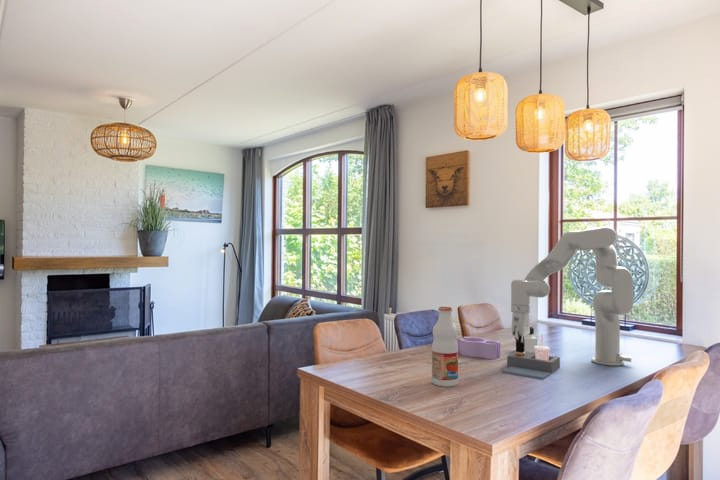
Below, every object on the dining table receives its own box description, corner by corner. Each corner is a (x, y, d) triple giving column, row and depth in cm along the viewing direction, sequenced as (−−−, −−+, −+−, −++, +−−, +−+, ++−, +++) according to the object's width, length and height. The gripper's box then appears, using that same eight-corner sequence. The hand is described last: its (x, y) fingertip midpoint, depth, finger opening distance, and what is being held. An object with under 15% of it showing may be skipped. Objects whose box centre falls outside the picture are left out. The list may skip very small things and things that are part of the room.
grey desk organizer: (559, 367, 197) (559, 357, 197) (551, 373, 187) (551, 362, 187) (517, 361, 208) (517, 351, 208) (507, 366, 198) (507, 355, 198)
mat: (550, 374, 186) (550, 372, 186) (543, 379, 179) (543, 377, 179) (510, 368, 196) (510, 366, 196) (502, 372, 189) (502, 370, 189)
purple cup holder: (504, 356, 217) (504, 341, 218) (491, 361, 208) (491, 345, 209) (466, 349, 231) (467, 335, 231) (453, 353, 222) (453, 339, 222)
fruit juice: (437, 378, 179) (437, 305, 180) (461, 382, 175) (461, 306, 175) (428, 384, 171) (428, 307, 171) (453, 388, 166) (453, 309, 167)
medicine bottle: (537, 353, 224) (537, 328, 224) (522, 353, 224) (522, 327, 224) (532, 350, 231) (532, 325, 231) (517, 349, 231) (517, 325, 231)
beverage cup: (530, 367, 197) (530, 334, 197) (542, 366, 199) (542, 333, 199) (541, 371, 191) (541, 336, 191) (553, 369, 193) (553, 335, 194)
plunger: (526, 363, 201) (526, 351, 201) (523, 365, 198) (523, 353, 198) (517, 361, 203) (517, 350, 204) (514, 363, 200) (514, 351, 200)
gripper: (523, 311, 193) (523, 356, 193) (534, 307, 205) (534, 350, 204) (505, 309, 197) (505, 353, 197) (517, 306, 209) (517, 347, 209)
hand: (520, 351), depth 201 cm, fingers closed
